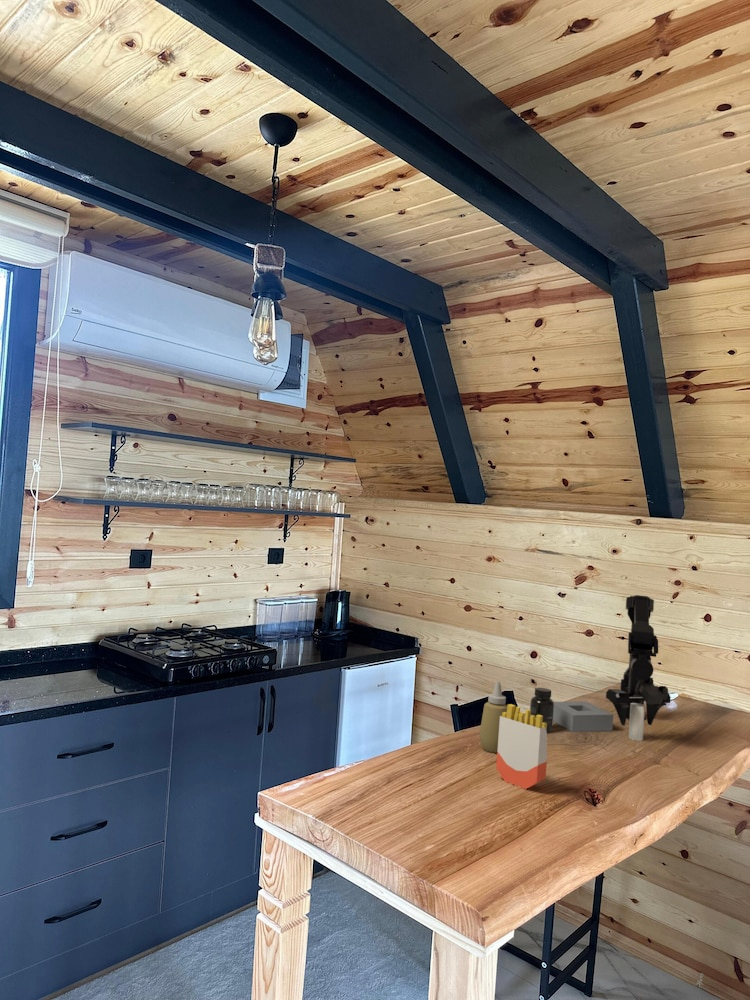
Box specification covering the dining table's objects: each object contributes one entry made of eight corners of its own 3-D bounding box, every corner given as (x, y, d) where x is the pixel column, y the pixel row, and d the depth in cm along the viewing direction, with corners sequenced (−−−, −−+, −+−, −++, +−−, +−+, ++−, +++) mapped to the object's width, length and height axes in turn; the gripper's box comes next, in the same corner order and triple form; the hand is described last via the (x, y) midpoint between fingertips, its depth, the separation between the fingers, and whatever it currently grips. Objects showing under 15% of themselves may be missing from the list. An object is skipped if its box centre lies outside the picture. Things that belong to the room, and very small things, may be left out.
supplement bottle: (552, 734, 199) (555, 693, 200) (528, 731, 201) (531, 690, 201) (551, 727, 206) (554, 688, 206) (528, 724, 207) (531, 685, 208)
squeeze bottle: (510, 747, 185) (515, 681, 185) (506, 757, 177) (511, 688, 178) (481, 742, 188) (485, 677, 188) (475, 751, 180) (480, 683, 180)
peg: (636, 736, 204) (638, 702, 204) (645, 740, 200) (647, 706, 200) (625, 736, 203) (627, 703, 203) (634, 741, 199) (636, 706, 199)
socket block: (585, 716, 221) (586, 701, 221) (612, 731, 207) (613, 714, 207) (547, 717, 217) (548, 701, 217) (572, 732, 203) (573, 715, 203)
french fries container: (505, 773, 166) (511, 699, 166) (545, 788, 158) (551, 711, 159) (495, 778, 162) (500, 702, 163) (535, 793, 155) (541, 714, 155)
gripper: (630, 679, 191) (627, 734, 191) (685, 679, 197) (681, 733, 196) (606, 669, 202) (603, 722, 202) (659, 669, 207) (655, 721, 207)
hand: (636, 725), depth 201 cm, fingers open, 9 cm apart
